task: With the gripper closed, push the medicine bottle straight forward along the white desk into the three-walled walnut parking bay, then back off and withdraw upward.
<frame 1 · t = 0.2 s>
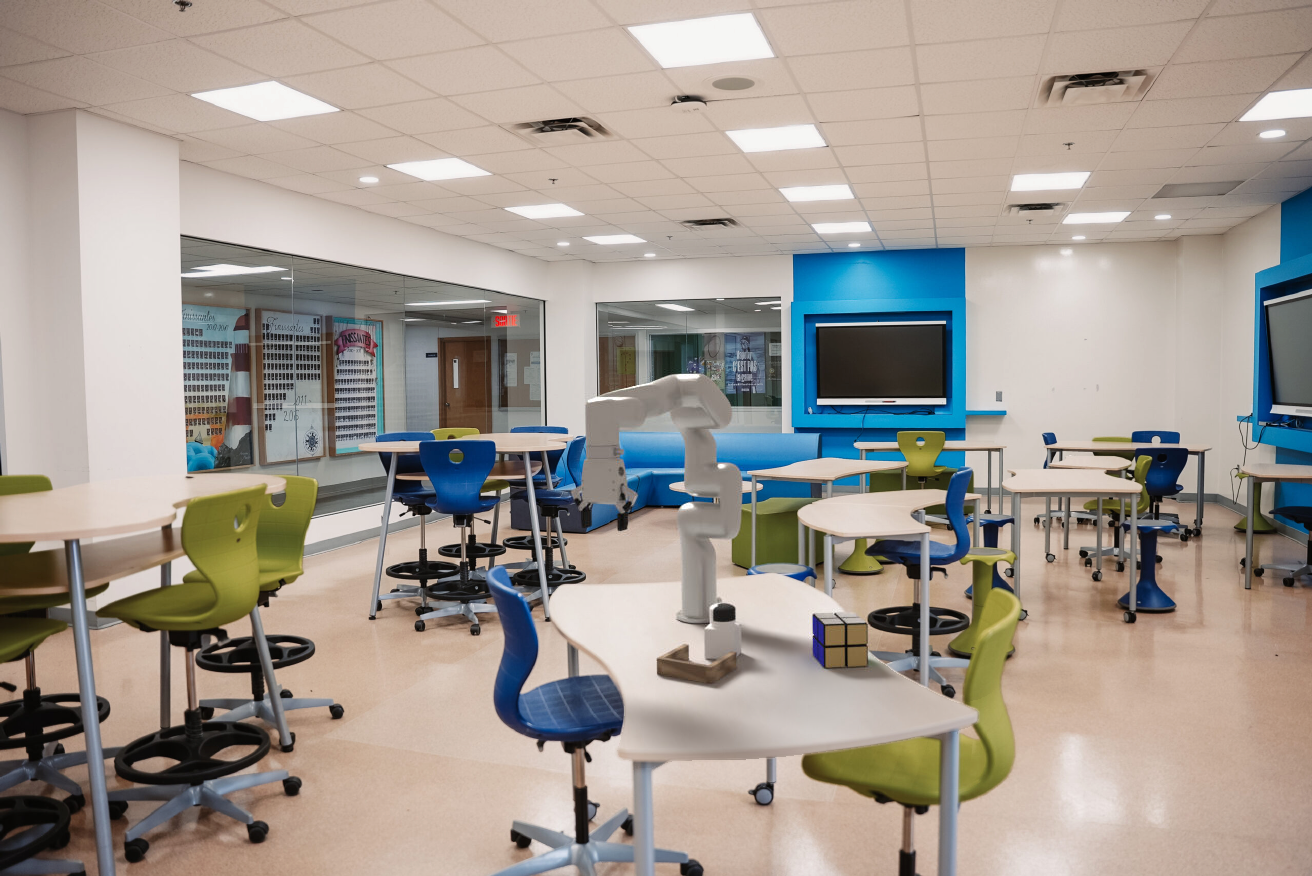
hand: (604, 528, 197), 31 cm above the table, fingers open, 9 cm apart
puzzle cube: (839, 662, 198), on the table
medicine bottle: (723, 656, 203), on the table
bay: (698, 669, 193), on the table
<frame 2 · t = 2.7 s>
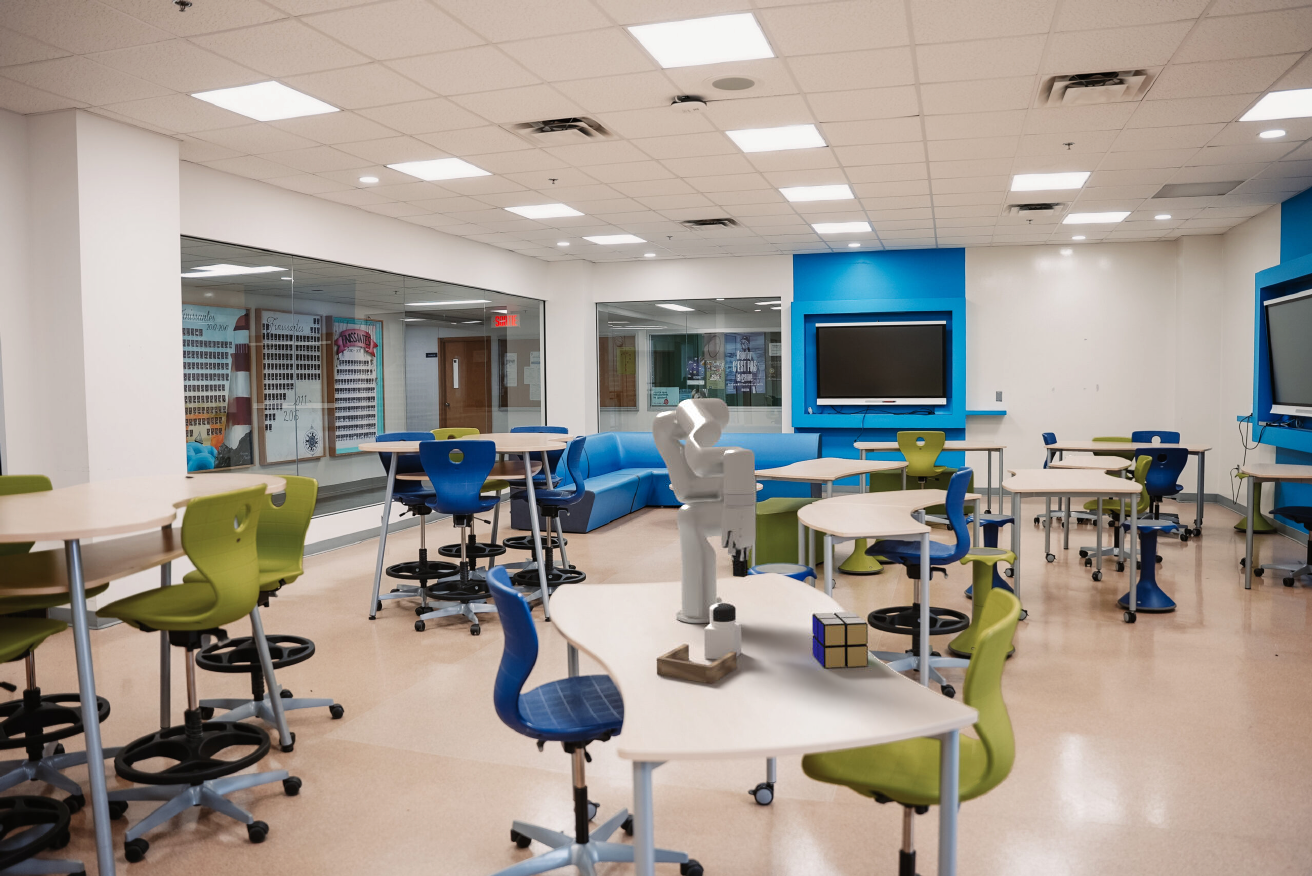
hand: (740, 575, 210), 17 cm above the table, fingers closed
nothing on the table moved.
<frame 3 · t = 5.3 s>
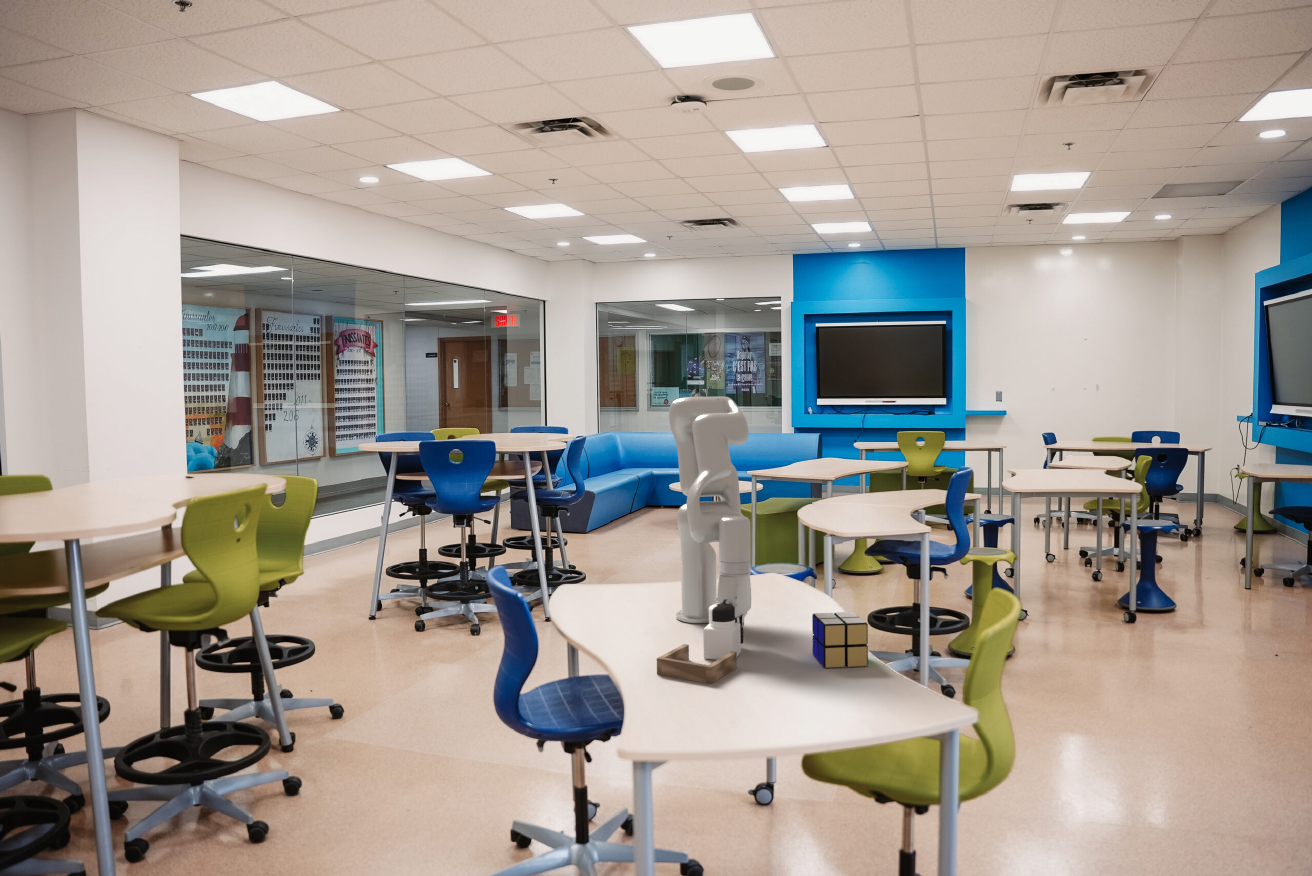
hand: (736, 643, 209), 1 cm above the table, fingers closed
medicine bottle: (722, 656, 203), on the table, touching gripper
everything else where it was.
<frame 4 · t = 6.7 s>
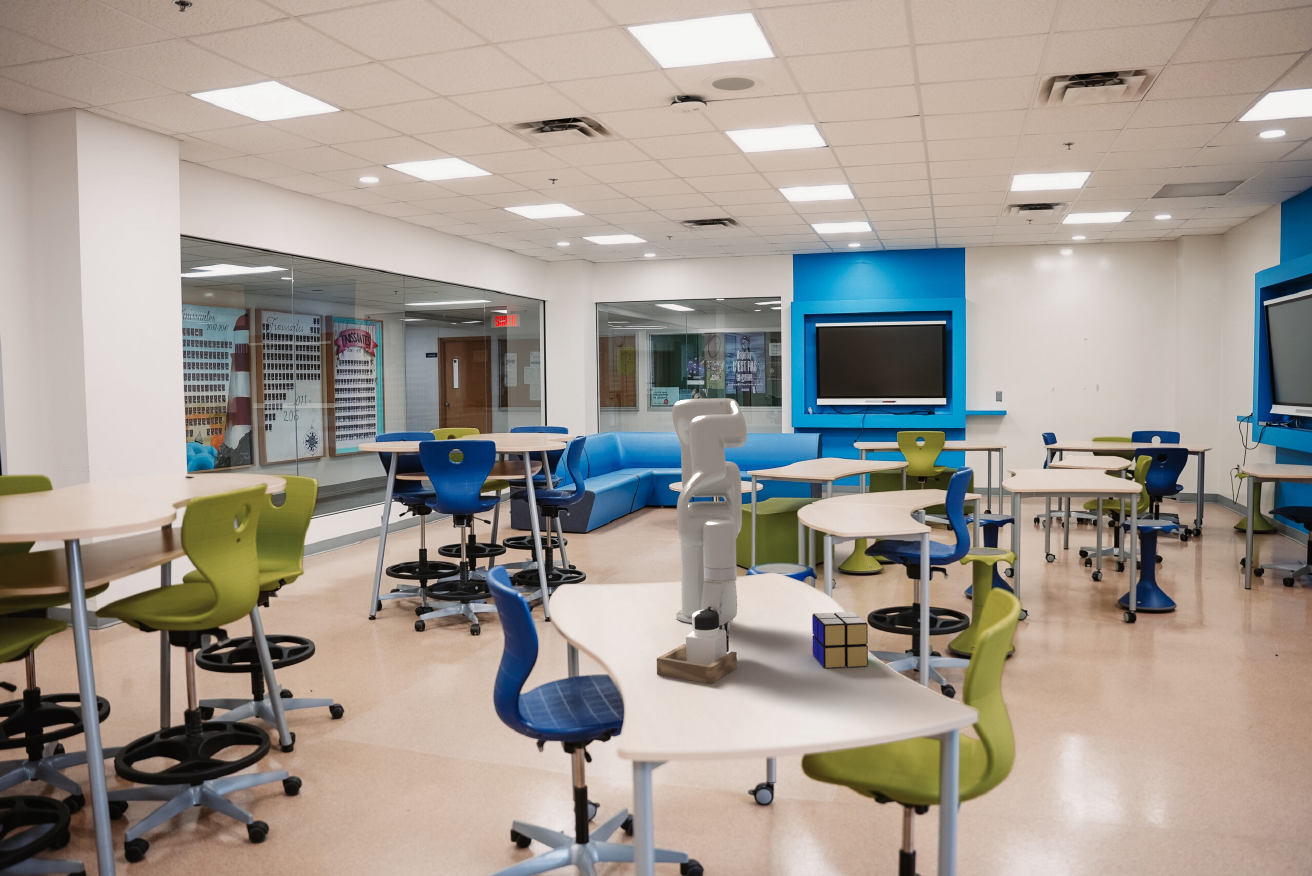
hand: (721, 651, 202), 1 cm above the table, fingers closed
medicine bottle: (707, 664, 197), on the table, touching gripper
everything else where it was.
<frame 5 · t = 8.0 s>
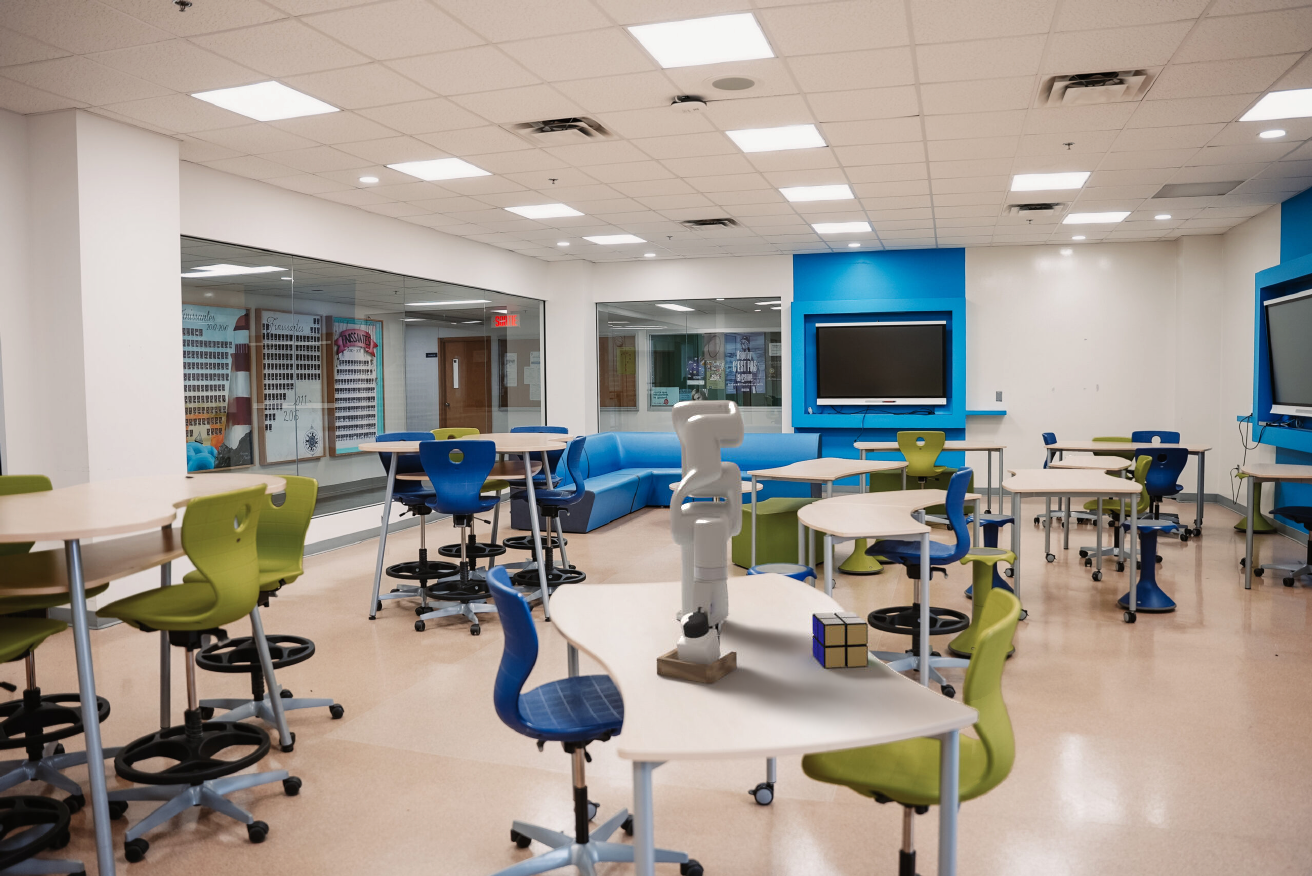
hand: (711, 652, 198), 2 cm above the table, fingers closed
medicine bottle: (701, 663, 194), point 1 cm above the table, touching gripper
everything else where it was.
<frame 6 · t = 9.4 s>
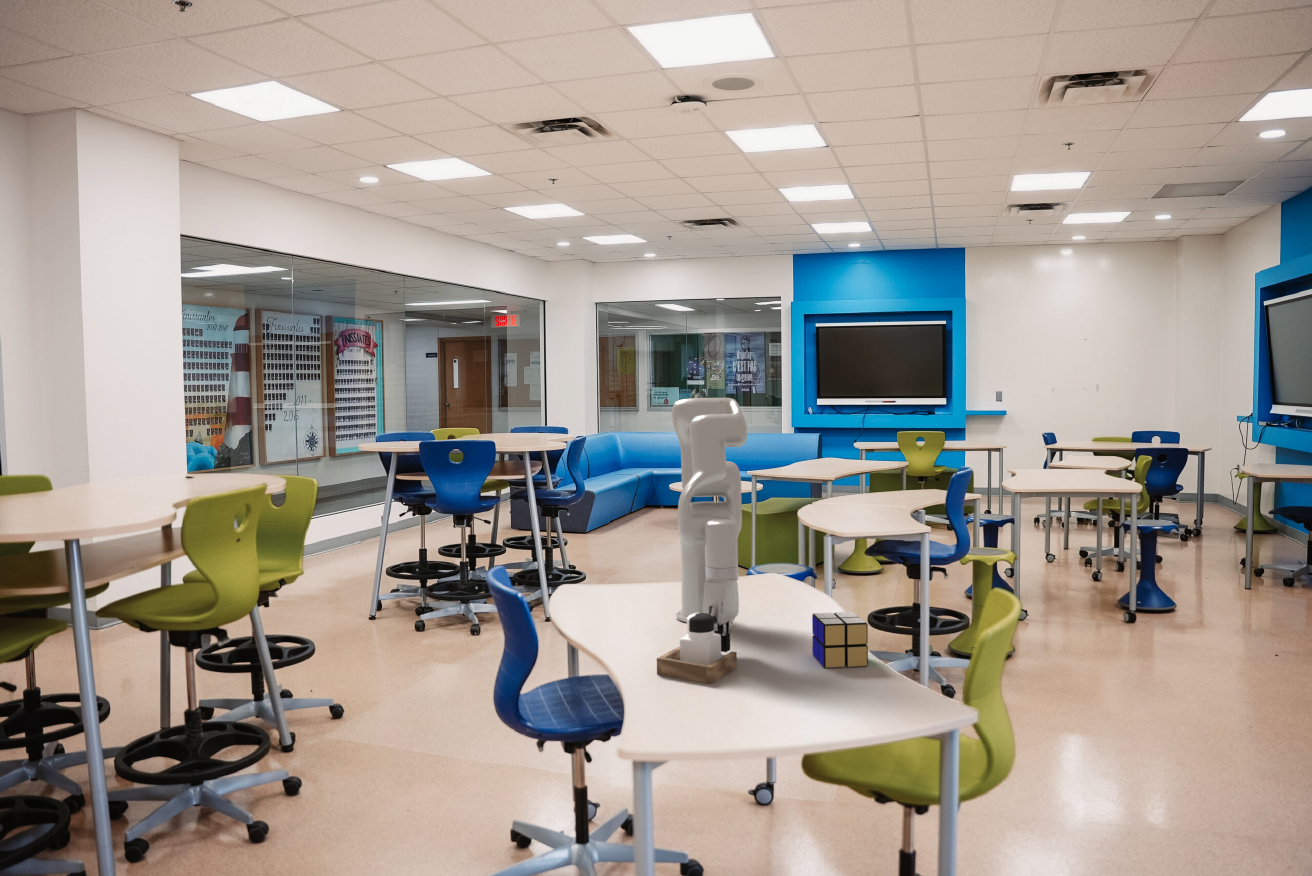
hand: (722, 650, 203), 1 cm above the table, fingers closed
medicine bottle: (701, 668, 194), on the table
everything else where it was.
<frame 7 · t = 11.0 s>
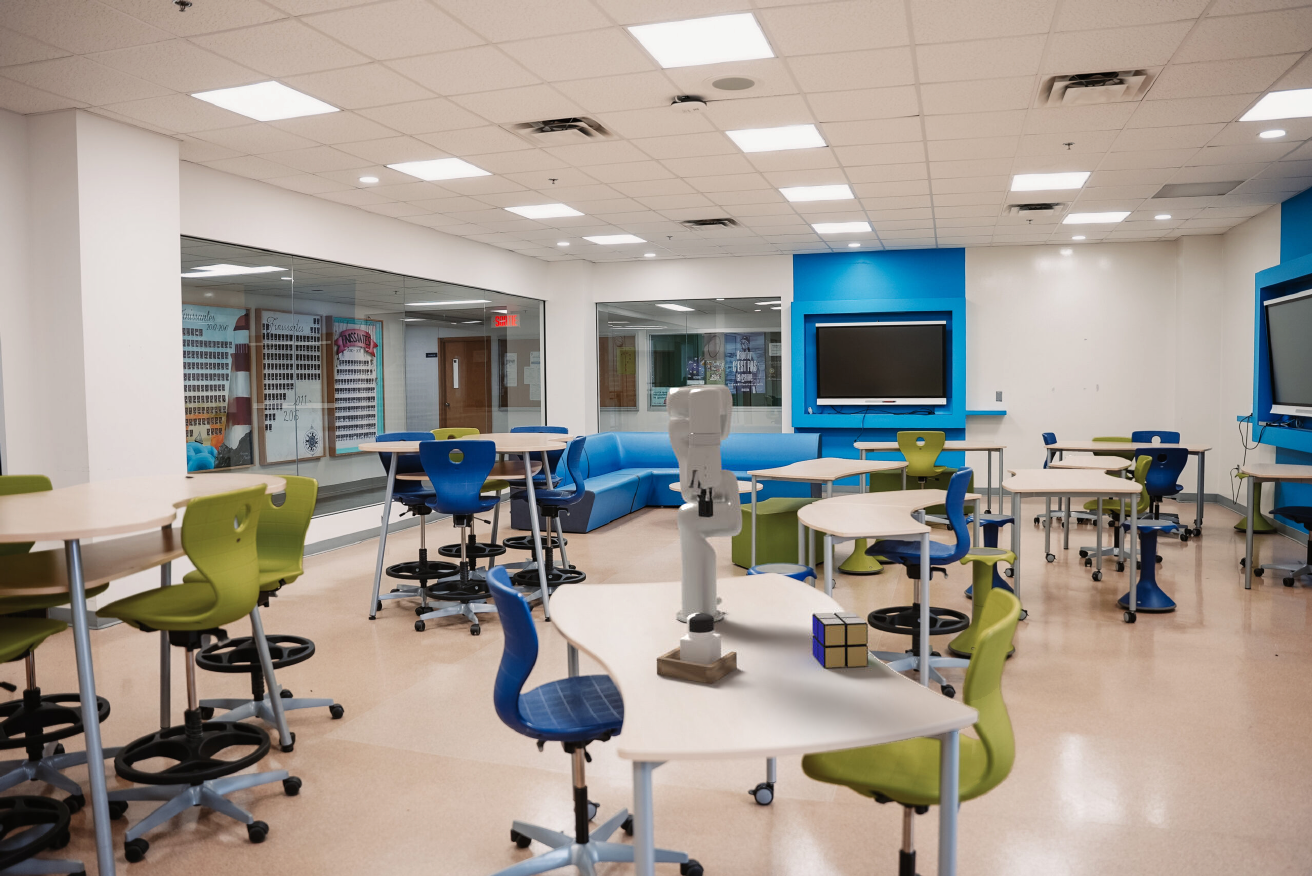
hand: (705, 516, 209), 32 cm above the table, fingers closed
nothing on the table moved.
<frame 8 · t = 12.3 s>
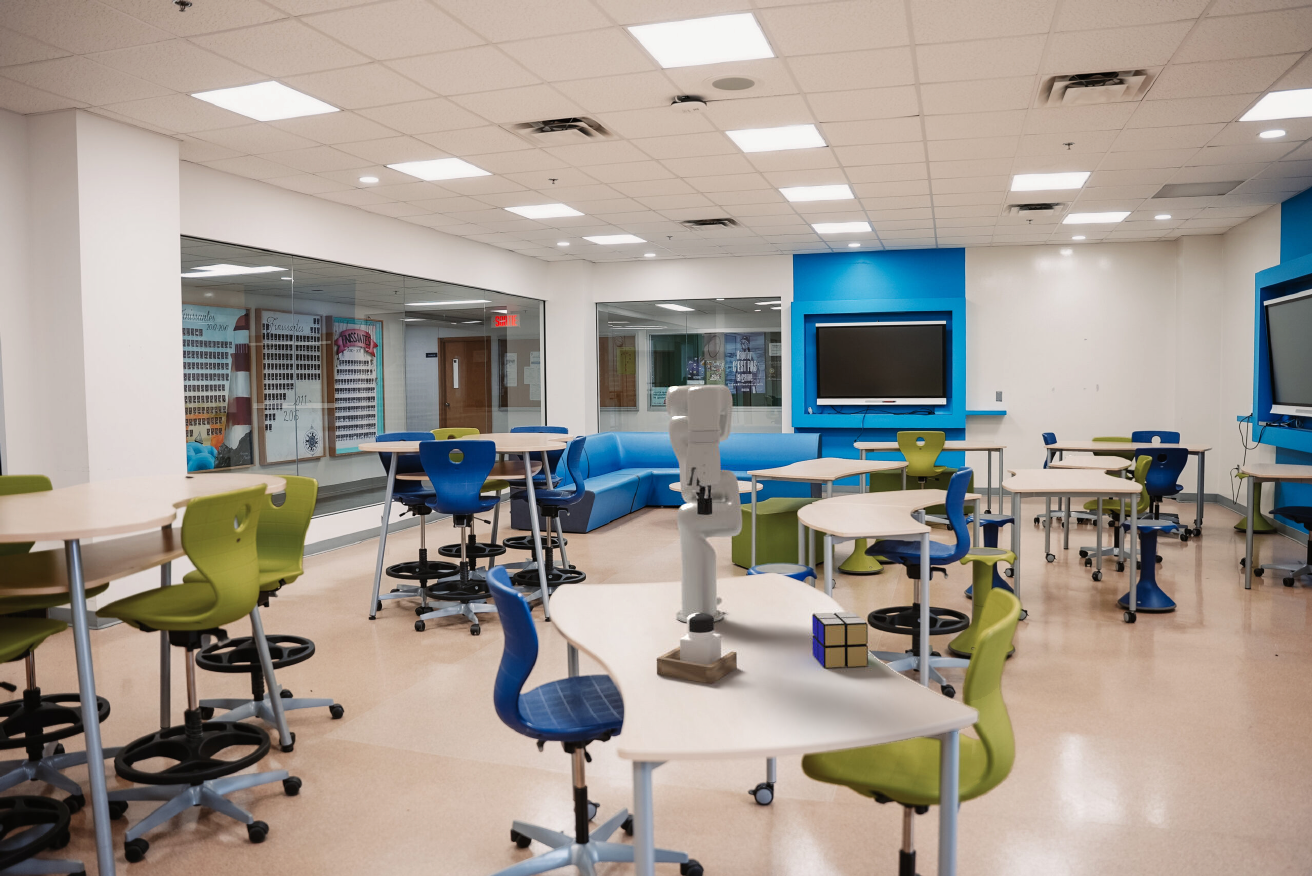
hand: (704, 514, 209), 32 cm above the table, fingers closed
nothing on the table moved.
at the end: medicine bottle inside the target area (2.3 cm from its centre), on the table; medicine bottle tilted 0°; the gripper is holding nothing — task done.
